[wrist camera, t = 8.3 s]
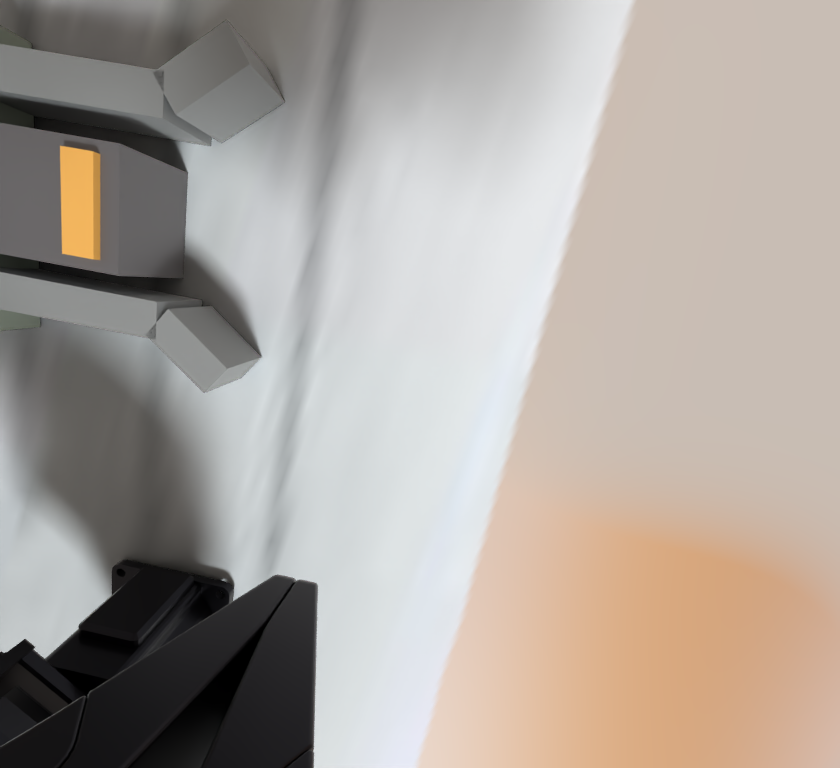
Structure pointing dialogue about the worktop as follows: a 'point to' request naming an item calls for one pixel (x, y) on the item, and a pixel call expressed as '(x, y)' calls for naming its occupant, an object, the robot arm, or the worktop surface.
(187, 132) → the grey blocky piece
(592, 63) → the worktop surface
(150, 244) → the grey rectangular block
